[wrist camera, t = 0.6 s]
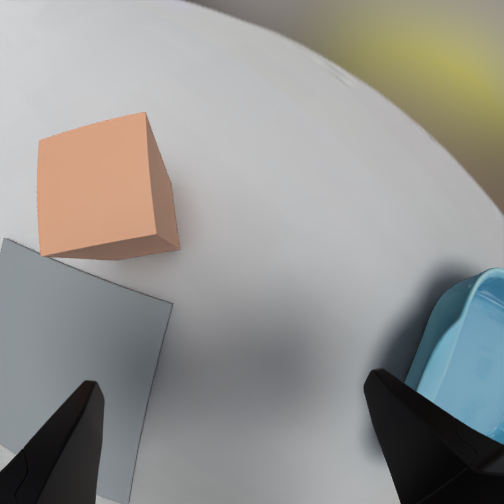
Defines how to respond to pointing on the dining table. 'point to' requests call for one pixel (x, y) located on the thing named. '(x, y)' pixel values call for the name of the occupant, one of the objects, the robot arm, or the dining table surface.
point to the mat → (76, 355)
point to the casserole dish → (466, 354)
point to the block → (104, 192)
